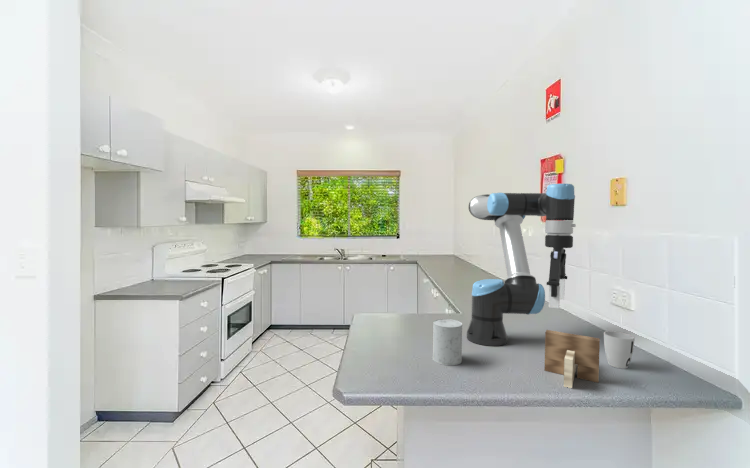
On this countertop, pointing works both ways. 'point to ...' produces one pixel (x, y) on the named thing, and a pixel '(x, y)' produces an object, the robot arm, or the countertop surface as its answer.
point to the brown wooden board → (584, 354)
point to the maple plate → (569, 368)
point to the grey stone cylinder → (447, 341)
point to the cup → (618, 348)
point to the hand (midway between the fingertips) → (556, 303)
